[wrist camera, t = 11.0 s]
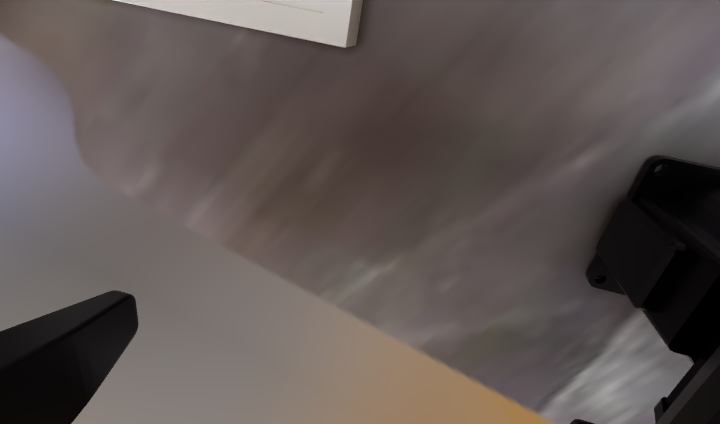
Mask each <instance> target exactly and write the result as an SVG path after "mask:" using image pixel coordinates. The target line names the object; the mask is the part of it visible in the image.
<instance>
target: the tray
mask: <svg viewBox="0 0 720 424" xmlns="http://www.w3.org/2000/svg"><path fill="white" fill-rule="evenodd" d="M114 1H119V2H124V3H129V4H134V5H139V6H144V7H149V8H154V9H158V10H163V11H168V12H173V13H178V14H183V15H188V16H193V17H198V18H202V19H207V20H212V21H217V22H222V23H227V24H232V25H237V26H242V27H246V28H251V29H256V30H261V31H266V32H271V33H276V34H281V35H286V36H290V37H295V38H300V39H305V40H310V41H315V42H320V43H325V44H330V45H334V46H339V47H344V48H347V47H351V46H355V45H356V42H357V36H358V29H359V23H360V16H361V10H362V3H363V0H114Z"/></svg>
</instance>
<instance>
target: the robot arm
mask: <svg viewBox="0 0 720 424" xmlns="http://www.w3.org/2000/svg"><path fill="white" fill-rule="evenodd" d="M662 164H664V169H663V170H662V171H661V172H659V173H655V169H656V167H657V166H659V165H662ZM596 251H597V254H596V255H595V257H594V259H593V261H592V263H591V265H590V267H589V268H588V270H587V273H586V278H587V280H588V282H589V283H590V285H591V286H593V287H595V288H599V289H603V290H607V291H611V292H615V293H619V294H623V295H626V296H627V297H628V298H629V300H630V301H631V303H632V304H633V306H634V307H635V308H638V309H642V311H643V312H644V314H645V315H646V316H647V318H648V319H649V321H650V322H651V324H652V325H653V326H654V328H655V329H656V331H657V332H658V334H659V335H660V337H661V338H662V339H663V341H664V342H665V344H666V345H667V347H668V348H669V349H670V350H671V351H673V352H675V353H679V354H683V355H686V356H687V357H688V358H689V360H690V361H691V362H692V364H693V366H692V367H691V368H690V370H689V371H688V372H687V373H686V375H685V376H684V377H683V378H682V380H681V381H680V382H679V383H678V385H677V386H676V387H675V388H674V390H673V391H672V392H671V393H670V395H669V396H668V397H667V398H666V397H663V398H662V399H661V400H660V401H659V402H658V404H657V405H656V406H655V408H654V412H655V420H656V424H720V168H718V167H713V166H708V165H704V164H699V163H694V162H690V161H685V160H680V159H676V158H671V157H667V156H655V157H652V158H651V159H649V160H648V161H647V162H646V163H645V164H644V166H643V168H642V170H641V172H640V174H639V176H638V177H637V179H636V181H635V183H634V185H633V187H632V189H631V190H630V192H629V194H628V196H627V198H626V199H625V200H623V201H621V202H620V203H619V205H618V207H617V209H616V211H615V213H614V215H613V216H612V218H611V220H610V222H609V224H608V226H607V228H606V230H605V231H604V233H603V235H602V237H601V239H600V241H599V243H598V245H597V247H596ZM598 275H603V276H602V277H601V278H599V279H595V277H596V276H598ZM137 329H138V316H137V308H136V300H135V298H134V296H133V295H131V294H128V293H124V292H121V291H110V292H107V293H104V294H102V295H99V296H96V297H93V298H90V299H88V300H85V301H82V302H80V303H77V304H74V305H72V306H69V307H66V308H63V309H61V310H58V311H55V312H52V313H50V314H47V315H44V316H41V317H39V318H36V319H34V320H30V321H28V322H25V323H22V324H19V325H17V326H14V327H11V328H9V329H6V330H3V331H0V424H71V423H72V422H73V421H74V419H75V418H76V417H77V416H78V414H79V413H80V412H81V411H82V410H83V408H84V407H85V406H86V405H87V403H88V402H89V401H90V399H91V398H92V397H93V395H94V394H95V392H96V391H97V390H98V388H99V387H100V385H101V383H102V382H103V381H104V379H105V378H106V376H107V375H108V374H109V372H110V371H111V369H112V368H113V366H114V365H115V363H116V362H117V360H118V359H119V358H120V356H121V355H122V353H123V352H124V350H125V349H126V347H127V346H128V344H129V343H130V341H131V340H132V339H133V337H134V335H135V333H136V331H137ZM570 424H594V423H591V422H587V421H584V420H580V419H575V420H573V421H572V422H571V423H570Z"/></svg>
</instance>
